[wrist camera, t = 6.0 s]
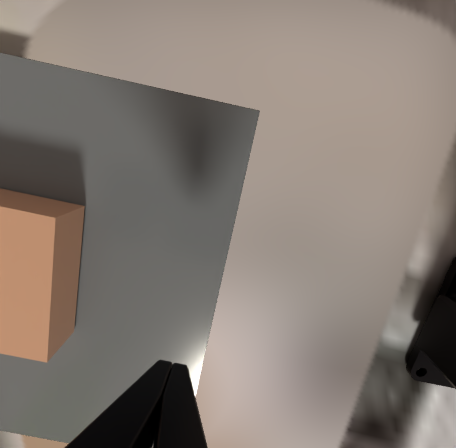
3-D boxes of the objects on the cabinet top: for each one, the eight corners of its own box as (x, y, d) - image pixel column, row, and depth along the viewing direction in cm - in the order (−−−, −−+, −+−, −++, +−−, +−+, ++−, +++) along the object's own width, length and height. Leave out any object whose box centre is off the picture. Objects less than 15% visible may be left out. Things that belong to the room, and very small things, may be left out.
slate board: (258, 113, 12) (259, 110, 11) (182, 448, 16) (180, 463, 16) (-149, 22, 11) (-177, 13, 11) (-108, 394, 16) (-125, 407, 15)
